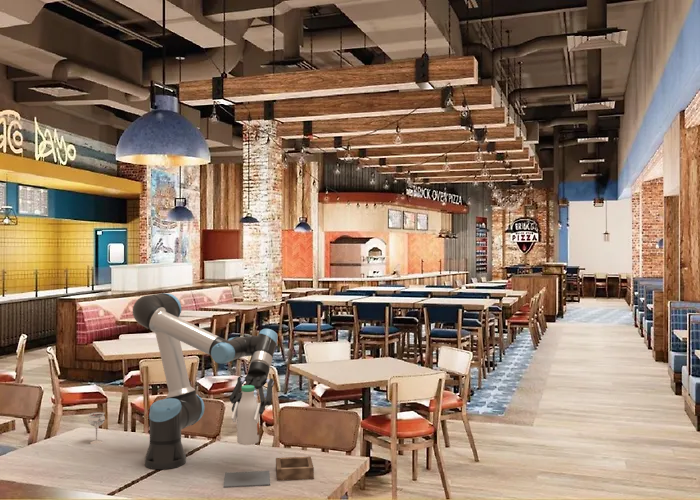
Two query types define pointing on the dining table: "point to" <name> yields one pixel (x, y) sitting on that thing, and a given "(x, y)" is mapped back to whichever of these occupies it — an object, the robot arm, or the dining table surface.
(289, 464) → the walnut collar
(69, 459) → the dining table surface
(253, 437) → the milk bottle
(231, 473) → the slate mat
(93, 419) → the wineglass
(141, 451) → the dining table surface
